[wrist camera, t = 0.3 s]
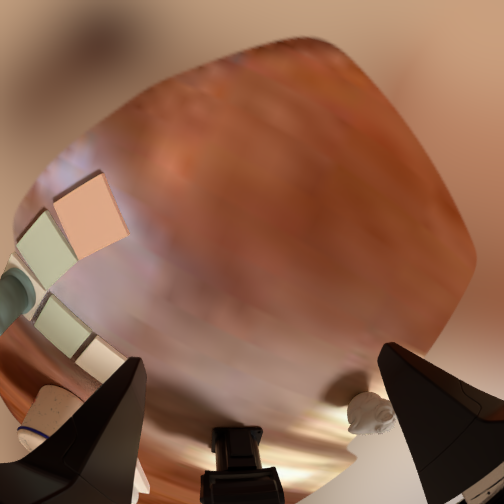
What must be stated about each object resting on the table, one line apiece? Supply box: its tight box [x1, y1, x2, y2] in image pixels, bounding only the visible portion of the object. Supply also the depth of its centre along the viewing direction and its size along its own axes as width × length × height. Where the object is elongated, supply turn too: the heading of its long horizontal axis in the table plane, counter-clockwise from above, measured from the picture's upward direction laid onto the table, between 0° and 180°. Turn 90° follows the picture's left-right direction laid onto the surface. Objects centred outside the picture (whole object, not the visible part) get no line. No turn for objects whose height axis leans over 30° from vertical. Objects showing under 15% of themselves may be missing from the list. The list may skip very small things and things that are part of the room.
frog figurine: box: [347, 392, 397, 435], centre depth 28 cm, size 6×7×7 cm
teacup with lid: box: [17, 385, 84, 452], centre depth 22 cm, size 12×9×12 cm
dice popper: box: [131, 458, 150, 504], centre depth 29 cm, size 14×10×8 cm
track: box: [4, 173, 130, 384], centre depth 22 cm, size 23×17×1 cm
